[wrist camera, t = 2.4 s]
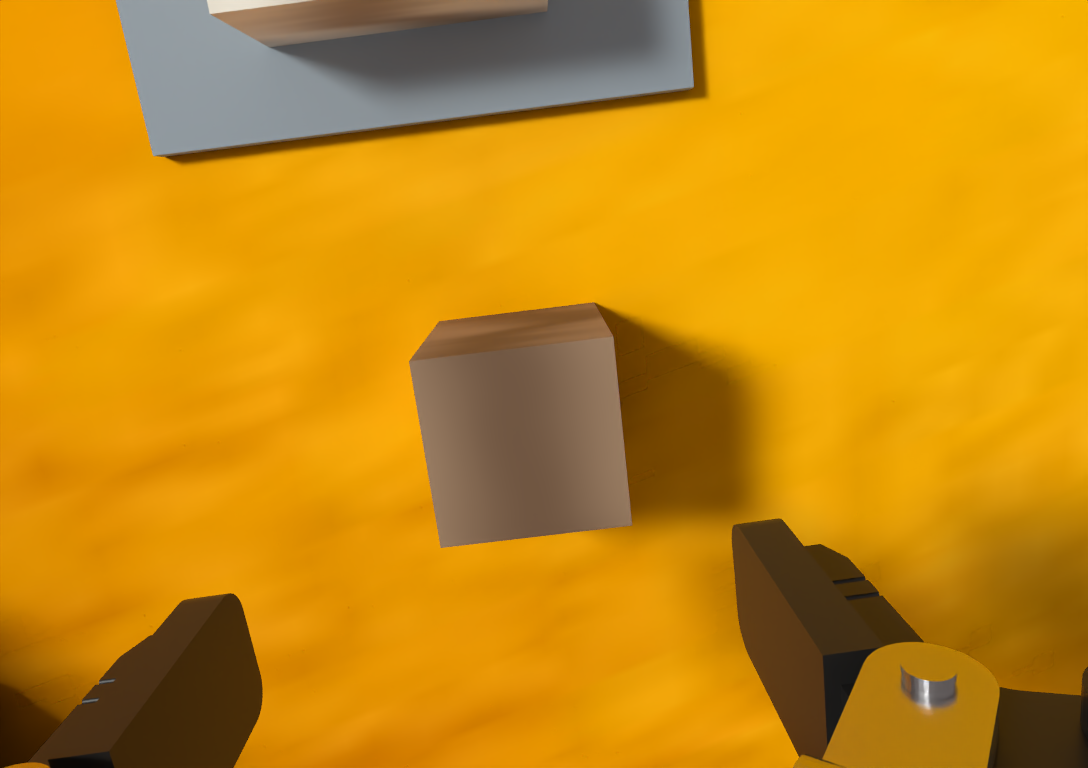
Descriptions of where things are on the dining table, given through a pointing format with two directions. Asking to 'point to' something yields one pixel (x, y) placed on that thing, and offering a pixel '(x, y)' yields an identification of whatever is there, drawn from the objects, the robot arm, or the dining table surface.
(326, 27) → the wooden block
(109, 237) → the dining table surface
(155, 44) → the mat
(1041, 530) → the dining table surface
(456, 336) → the walnut block
